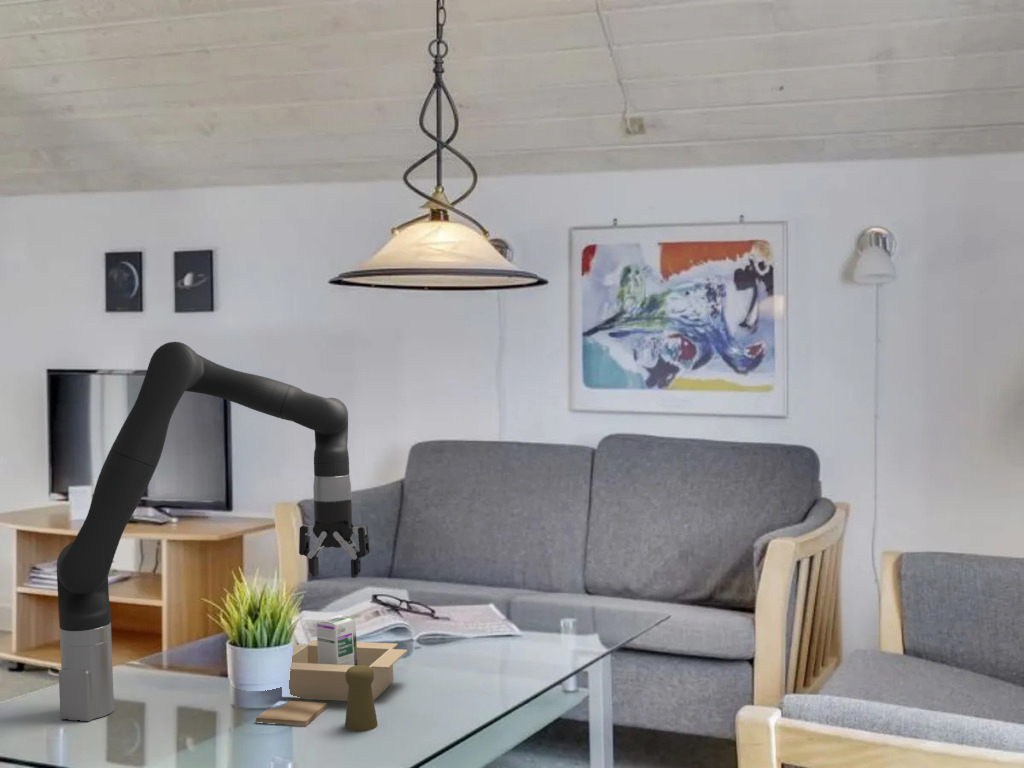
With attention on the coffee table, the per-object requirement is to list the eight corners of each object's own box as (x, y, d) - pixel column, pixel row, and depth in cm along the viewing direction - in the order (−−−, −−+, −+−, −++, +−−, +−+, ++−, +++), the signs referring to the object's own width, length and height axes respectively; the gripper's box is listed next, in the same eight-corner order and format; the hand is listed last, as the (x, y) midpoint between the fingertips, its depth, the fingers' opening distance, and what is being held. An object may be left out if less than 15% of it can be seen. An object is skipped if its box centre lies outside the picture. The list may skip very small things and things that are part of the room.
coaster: (306, 726, 202) (305, 721, 202) (255, 723, 204) (255, 718, 204) (326, 708, 212) (326, 702, 212) (278, 705, 214) (278, 700, 214)
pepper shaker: (347, 720, 205) (346, 662, 205) (379, 719, 205) (378, 661, 204) (341, 731, 199) (339, 672, 199) (374, 731, 199) (373, 671, 198)
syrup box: (338, 696, 219) (336, 624, 218) (318, 690, 223) (315, 620, 222) (358, 688, 224) (356, 617, 223) (338, 683, 227) (336, 614, 227)
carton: (414, 677, 230) (413, 644, 230) (382, 709, 211) (381, 673, 210) (299, 671, 236) (298, 639, 236) (257, 702, 216) (256, 667, 216)
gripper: (291, 499, 219) (294, 579, 220) (359, 500, 216) (361, 581, 217) (307, 494, 227) (309, 571, 227) (372, 494, 224) (374, 573, 224)
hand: (335, 576), depth 222 cm, fingers open, 8 cm apart
